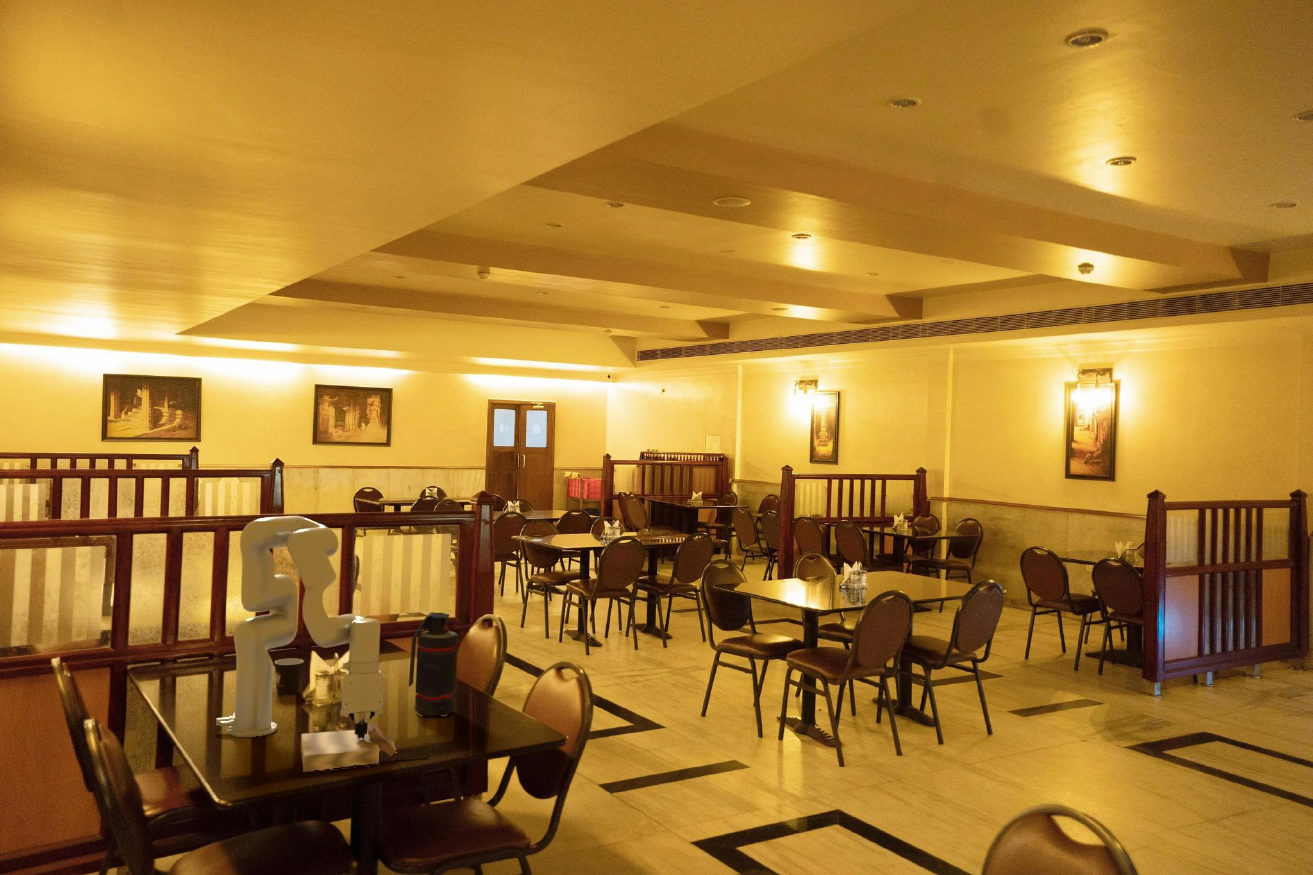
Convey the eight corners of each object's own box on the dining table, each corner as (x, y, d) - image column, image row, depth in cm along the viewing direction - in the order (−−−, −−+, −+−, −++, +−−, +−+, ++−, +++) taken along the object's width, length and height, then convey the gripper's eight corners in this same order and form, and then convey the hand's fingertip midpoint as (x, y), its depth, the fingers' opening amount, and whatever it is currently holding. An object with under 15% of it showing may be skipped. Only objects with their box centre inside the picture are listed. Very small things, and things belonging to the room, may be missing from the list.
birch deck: (303, 771, 238) (304, 755, 238) (300, 748, 254) (301, 733, 254) (378, 765, 244) (379, 749, 244) (371, 743, 261) (372, 728, 261)
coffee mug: (302, 695, 304) (303, 664, 304) (273, 697, 301) (274, 665, 301) (301, 686, 315) (302, 655, 315) (273, 687, 312) (274, 657, 312)
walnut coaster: (369, 736, 247) (375, 730, 248) (366, 727, 255) (372, 722, 255) (390, 756, 249) (396, 751, 250) (387, 747, 257) (393, 742, 257)
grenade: (457, 708, 298) (462, 611, 298) (450, 719, 286) (455, 618, 286) (412, 706, 297) (417, 609, 298) (404, 717, 286) (408, 616, 286)
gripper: (334, 671, 245) (331, 743, 245) (394, 668, 251) (391, 739, 251) (332, 664, 252) (329, 734, 252) (391, 662, 258) (388, 730, 258)
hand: (360, 736), depth 251 cm, fingers closed
